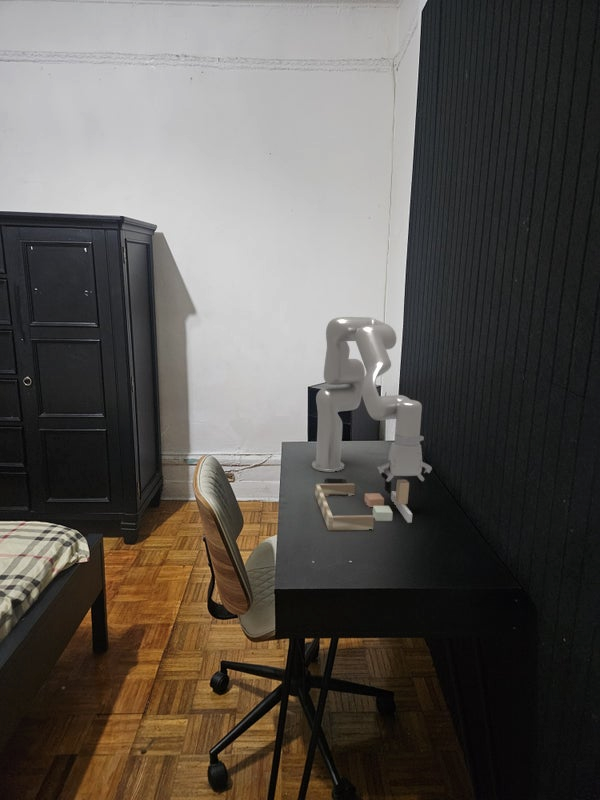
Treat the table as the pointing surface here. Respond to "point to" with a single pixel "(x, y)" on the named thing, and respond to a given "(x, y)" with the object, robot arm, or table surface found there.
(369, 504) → the terracotta tile
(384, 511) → the pale green square block
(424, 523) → the table surface
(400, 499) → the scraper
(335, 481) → the phone
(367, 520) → the box
